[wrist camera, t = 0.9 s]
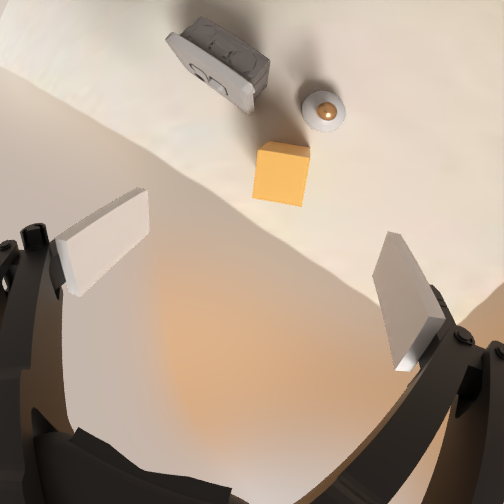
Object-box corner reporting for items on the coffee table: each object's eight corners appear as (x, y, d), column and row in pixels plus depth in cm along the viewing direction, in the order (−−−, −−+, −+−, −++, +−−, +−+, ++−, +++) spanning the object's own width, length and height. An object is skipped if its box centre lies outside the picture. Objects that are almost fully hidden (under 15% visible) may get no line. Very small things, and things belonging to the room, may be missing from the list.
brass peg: (314, 105, 24) (315, 103, 20) (330, 102, 24) (334, 100, 19) (317, 120, 25) (319, 122, 20) (333, 118, 25) (338, 119, 20)
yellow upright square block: (264, 179, 31) (252, 198, 25) (269, 140, 28) (257, 149, 22) (303, 186, 30) (301, 206, 24) (310, 147, 28) (310, 158, 22)
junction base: (298, 95, 25) (297, 94, 24) (339, 89, 24) (340, 88, 23) (307, 134, 27) (306, 135, 26) (347, 128, 26) (349, 129, 25)
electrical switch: (187, 70, 26) (149, 52, 18) (216, 36, 24) (189, 7, 16) (250, 116, 28) (233, 111, 19) (281, 82, 26) (278, 63, 17)
